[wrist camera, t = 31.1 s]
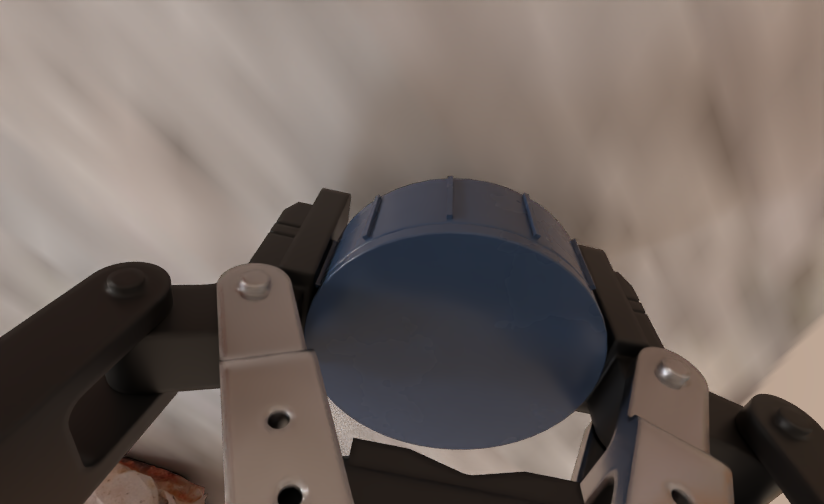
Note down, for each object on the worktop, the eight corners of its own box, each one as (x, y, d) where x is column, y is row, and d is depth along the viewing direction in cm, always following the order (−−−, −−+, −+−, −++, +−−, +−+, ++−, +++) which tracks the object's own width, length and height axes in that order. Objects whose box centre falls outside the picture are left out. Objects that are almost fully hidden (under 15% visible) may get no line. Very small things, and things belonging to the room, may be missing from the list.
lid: (344, 147, 9) (316, 196, 7) (628, 212, 9) (670, 275, 7) (318, 351, 12) (294, 421, 10) (528, 395, 13) (540, 470, 11)
